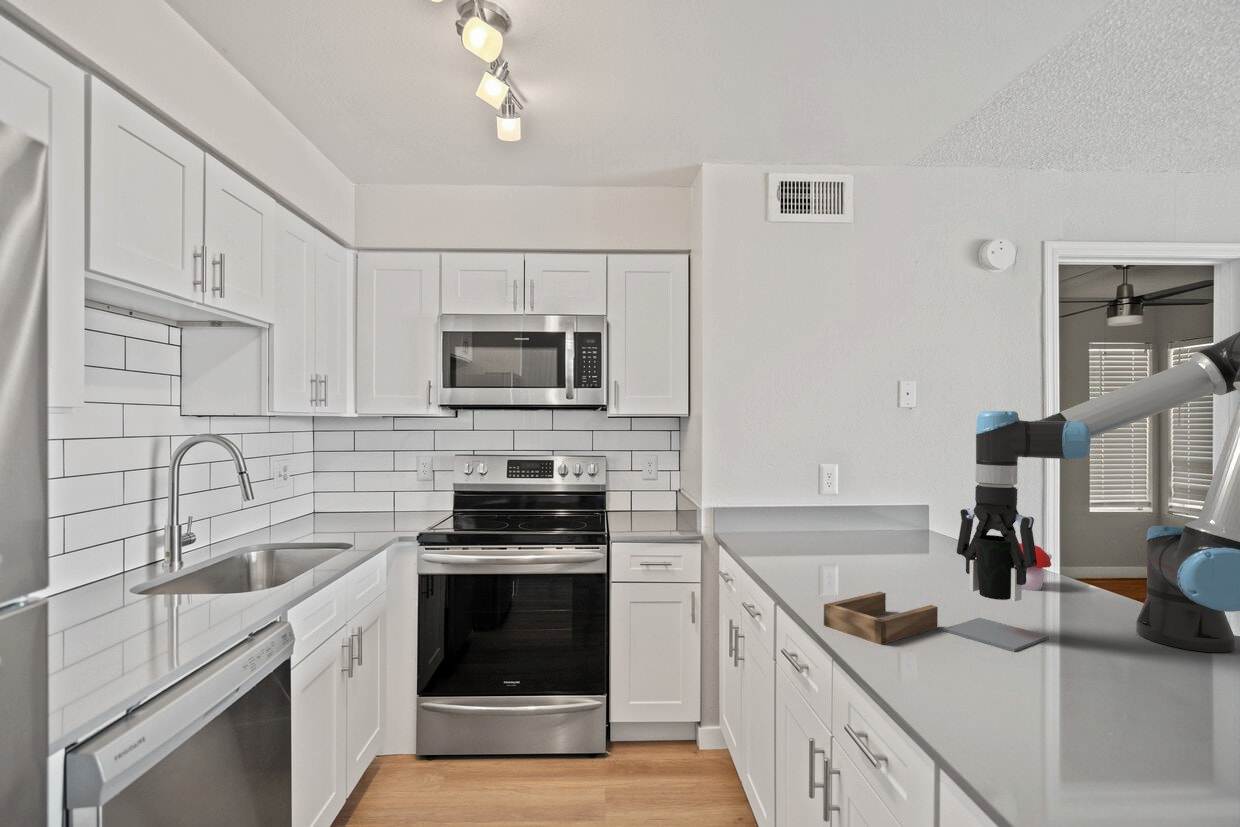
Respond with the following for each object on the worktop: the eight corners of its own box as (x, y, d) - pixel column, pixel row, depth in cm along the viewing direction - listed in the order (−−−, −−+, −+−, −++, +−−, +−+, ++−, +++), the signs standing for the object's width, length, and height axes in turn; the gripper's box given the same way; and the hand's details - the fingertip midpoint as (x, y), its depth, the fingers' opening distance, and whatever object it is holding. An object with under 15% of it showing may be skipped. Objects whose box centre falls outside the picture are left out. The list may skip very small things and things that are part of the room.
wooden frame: (937, 627, 138) (937, 606, 138) (881, 644, 127) (881, 621, 127) (879, 610, 149) (879, 591, 149) (823, 625, 139) (823, 604, 139)
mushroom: (1037, 582, 176) (1037, 539, 176) (1061, 593, 165) (1061, 547, 166) (996, 581, 177) (996, 538, 177) (1017, 592, 166) (1017, 546, 167)
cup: (1022, 602, 129) (1023, 542, 129) (981, 599, 130) (982, 540, 130) (1007, 592, 137) (1008, 535, 137) (968, 589, 138) (969, 534, 138)
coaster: (1048, 638, 131) (1048, 635, 131) (1014, 651, 124) (1014, 648, 124) (979, 620, 143) (979, 617, 143) (943, 631, 135) (943, 628, 135)
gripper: (1059, 489, 127) (1058, 604, 127) (957, 479, 144) (956, 581, 144) (1041, 491, 123) (1040, 610, 123) (938, 481, 140) (937, 586, 140)
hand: (994, 594), depth 133 cm, fingers closed on cup, 8 cm apart
